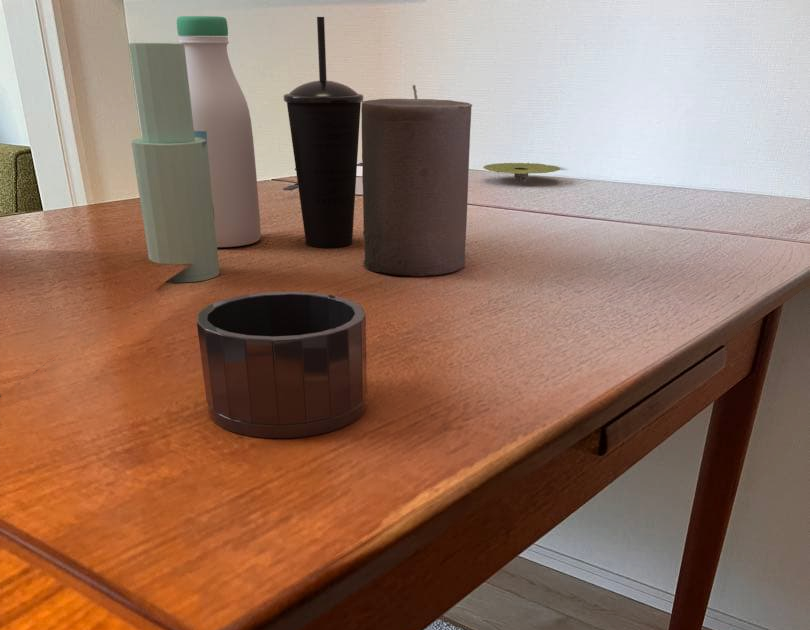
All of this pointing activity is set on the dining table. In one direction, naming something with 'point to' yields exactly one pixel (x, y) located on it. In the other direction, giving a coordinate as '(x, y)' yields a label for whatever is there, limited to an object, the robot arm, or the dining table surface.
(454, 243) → the pillar candle
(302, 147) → the drinking cup
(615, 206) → the dining table surface
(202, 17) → the milk bottle
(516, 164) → the green disc on stem
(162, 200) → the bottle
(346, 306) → the holder
